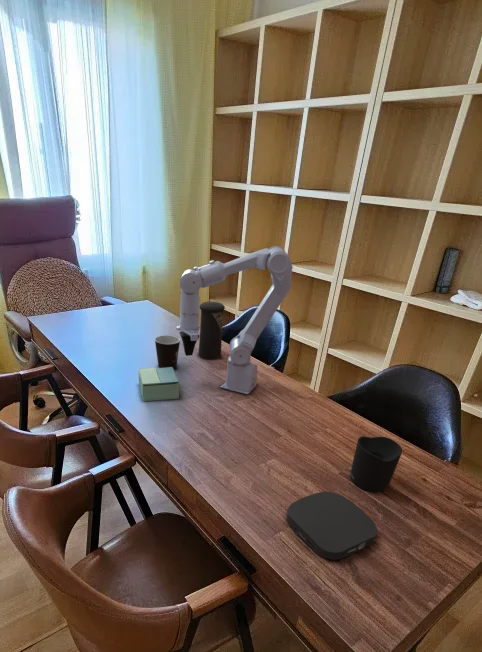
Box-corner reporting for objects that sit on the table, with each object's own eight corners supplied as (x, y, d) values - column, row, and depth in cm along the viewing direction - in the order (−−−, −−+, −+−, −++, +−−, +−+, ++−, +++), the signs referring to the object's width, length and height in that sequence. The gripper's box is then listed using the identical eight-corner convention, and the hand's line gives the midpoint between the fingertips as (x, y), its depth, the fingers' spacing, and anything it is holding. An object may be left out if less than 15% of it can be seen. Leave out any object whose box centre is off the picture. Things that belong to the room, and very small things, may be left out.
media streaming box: (331, 495, 95) (333, 485, 93) (383, 540, 84) (387, 529, 82) (278, 515, 88) (280, 505, 87) (327, 567, 77) (330, 555, 76)
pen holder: (357, 463, 105) (366, 429, 100) (395, 479, 100) (407, 445, 95) (341, 481, 99) (351, 446, 94) (381, 499, 94) (394, 463, 89)
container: (221, 360, 158) (225, 307, 147) (197, 359, 158) (199, 305, 147) (221, 351, 165) (224, 300, 155) (197, 350, 165) (200, 299, 155)
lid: (172, 368, 137) (172, 366, 137) (178, 382, 128) (178, 381, 128) (156, 369, 136) (155, 368, 136) (161, 384, 127) (161, 383, 127)
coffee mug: (168, 373, 146) (168, 346, 141) (150, 366, 150) (149, 339, 145) (189, 363, 154) (190, 337, 149) (171, 357, 158) (172, 331, 153)
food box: (172, 383, 140) (172, 366, 137) (178, 398, 131) (179, 381, 128) (139, 385, 137) (138, 368, 134) (143, 401, 128) (142, 384, 125)
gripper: (172, 306, 133) (172, 347, 140) (181, 320, 121) (180, 364, 128) (194, 305, 134) (192, 345, 141) (205, 319, 122) (203, 363, 129)
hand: (188, 354), depth 135 cm, fingers closed
